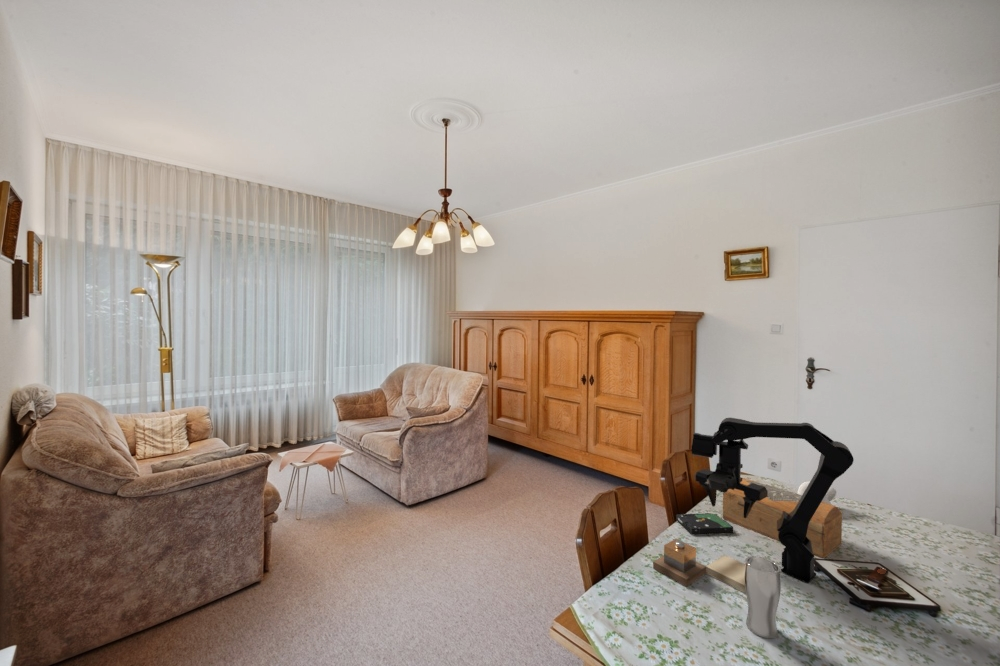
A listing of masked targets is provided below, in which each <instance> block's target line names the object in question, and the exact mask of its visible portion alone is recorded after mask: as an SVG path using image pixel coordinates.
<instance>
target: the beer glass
mask: <svg viewBox="0 0 1000 666" xmlns="http://www.w3.org/2000/svg"><path fill="white" fill-rule="evenodd" d="M744 564H745V574H744V583H745V591H746V592H745V595H746V600H747V601H746V602H747V614H746V615H747V616H746V621H745V625H746V627H747V629H748V630H749V631H750V632H752V633H753V634H754V635H755V636H758V637H760V638H763V639H767V640H769V639H771V640H772V639H776V638H777V637H778V627H777V619H776V616H777V612H778V606H779V604H780V603H779V602H780V599H781V598H780V597H781V588H782V587H781V585H782V584H781V582H782V581H781V573H780V572H781V568H780V567H779V565H778V564H777V563H775V562H774V561H772V560H770V559H768V558H765V557H761V556H757V555H751V556H747V557H746V558H745V563H744Z"/></svg>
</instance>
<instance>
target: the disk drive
mask: <svg viewBox="0 0 1000 666" xmlns="http://www.w3.org/2000/svg"><path fill="white" fill-rule="evenodd" d="M675 517H676V518H675V520H676V522H677V523H678V524H679V525H680V526H681V527H682V528H684V529H685V531H686V532H688V534H689V535H691V536H699V535H700V536H701V535H728V534H729V535H730V534H734V526H732V525H731V524H730V522H729V521H727V520H725V519H723V517H722V518H721V517H720V516H719V515H718V514H717V513H710V512H709V513H708V512H707V513H688V514H687V513H680V514H676V515H675Z"/></svg>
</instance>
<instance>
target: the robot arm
mask: <svg viewBox="0 0 1000 666" xmlns="http://www.w3.org/2000/svg"><path fill="white" fill-rule="evenodd" d="M750 438H751V439H752V438H772V439H775V438H776V439H796V440H797V439H798V440H799V439H800V440H804V441H806V442H807V443H809V445H811V446H812V448H814V449H815V450H816V451H818V452H819V454H820V456H819V460H818V465H817V469H816V471H815V473H814V475H813V476H812V478H811V480H810V483H809V485H808V486H807V488H806V490H805V491H804V493H803V495H802V497H801V498H800V500H799V502H798V503H797V505H796V507H795V509H794V510H793V511H792V512H790V513H789V514H788V513H786V512H785V511H783V513H782V516H781V518H780V519H779V520H777V531H778V538H779V541H780V544H781V545H782V546H783V551H782V552H781V567H782V568H780V572H782V573H784V574H785V575H788V576H790V577H792V578H795V579H797V580H799V581H801V582H804V583H807V584H809V583H811V581H812V580H814V578H815V577H816V576H817V573H816V572H815V556H814V554H813V550H812V544H811V541H810V540H809V539H808V538H807V537H806V534H807V530H808V525H809V522H810V520H811V518H812V517H813V515H814V513H815V512H816V510H817V508H818V507H819V505H820V503H821V502H822V500H823V498H824V497H825V495H826V493H827V492H828V490H829V488H830V487H832V485H833V483H834V481H835V480H836V479H838V478H839V477H841V476H842V475H844V474H845V473H846V472H847V470H848V469H849V468H850V467H851V466H852V465H853V463H854V456H853V455H852V452H851V451H850V449H849V447H847V445H846V444H844V443H842V442H840V441H834V440H833V439H832V438H830V437H829V436H828V435H826V434H825V433H823V432H821V431H820V430H819V429H817V428H816V427H814V425H813V424H811V423H809V422H801V423H800V422H799V423H797V422H795V423H793V422H755V421H749V420H745V419H741V418H735V417H725V418H724V419H723V420H721V422H720V423H719V426H718V430H717V431H716V432H714V433H713V435H710V434H709V435H708V434H701V433H699V432H694V433H693V434H692V444H691V446H690V447H691V448H690V449H691V455H693V456H697V457H705V458H709V459H712V458H713V457H714V456H717V455H718V462H717V463H716V466H715V467H716V469H715V470H714V471H713V470H711V469H706V468H703V469H700V470H697V471H696V472H695V474H694V481H696V482H698V484H699V485H700V486H702V487H703V488H704V489H705V491H706V493H707V496H708V498H709V500H710V501H709V502H710V505H711V506H712V507H715V506H716V503H717V491H719V492H720V493H723V492H727V491H728V489H732V490H734V489H738V490H741V491H744V495H745V497H743V499H744V518H747V516H748V514H749V512H750V510H751V508H752V506H753V505H754V503H755V502H756V501H760V500H762V499H764V498H766V497H767V494H768V491H767V489H766V488H765V487H764V486H761V485H757V484H754V483H751V484H749V485H744V484H741V483H740V482H742V478H743V477H741V473H742V472H741V469H743V468H744V467H743V463H742V460H741V457H742V454H741V453H742V450H748V449H749V444H748V443H746V442H745V441H744V440H745V439H750ZM779 541H778V542H779Z"/></svg>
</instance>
